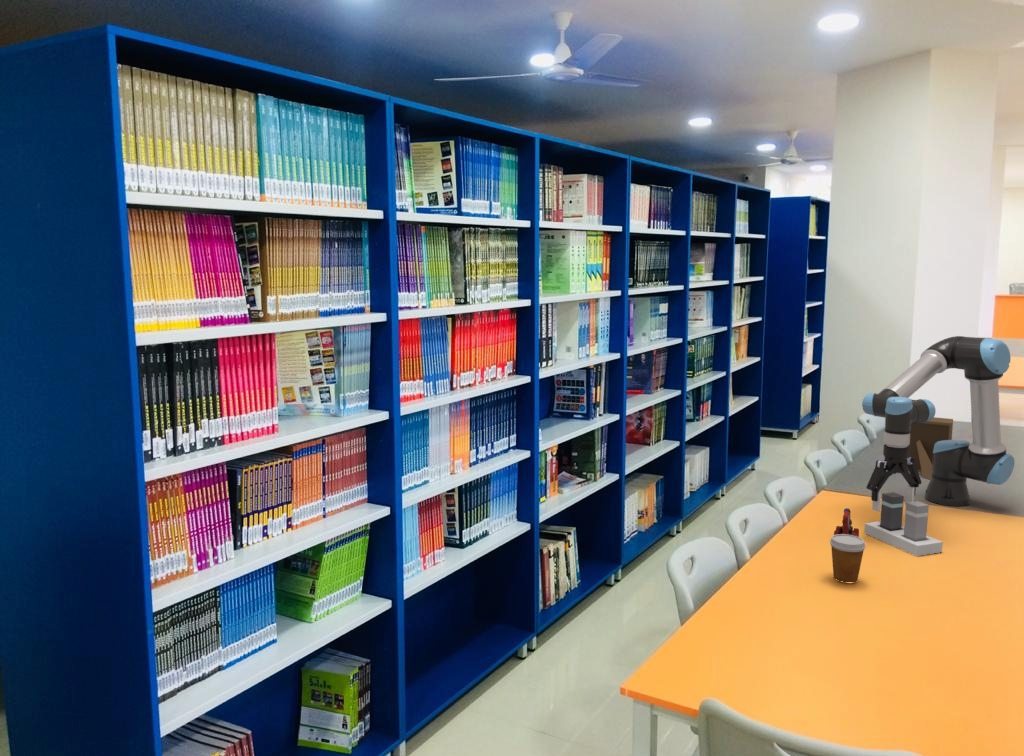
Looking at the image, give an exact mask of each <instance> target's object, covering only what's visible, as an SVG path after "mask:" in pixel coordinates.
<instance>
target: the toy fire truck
mask: <svg viewBox="0 0 1024 756" xmlns="http://www.w3.org/2000/svg"><path fill="white" fill-rule="evenodd" d="M841 521H842V522H841V523H842V525H841V526H840V525H837V526H835V530H834V532H833V536H834V535H837V534H847V535H853V536H857V537H859V535H860V529H859V528H856V527H853V526H852V524H853V521H852V519H851V509H850V508H844V510H843V516H842V520H841Z"/></svg>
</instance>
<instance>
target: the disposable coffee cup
mask: <svg viewBox="0 0 1024 756" xmlns="http://www.w3.org/2000/svg"><path fill="white" fill-rule="evenodd" d="M829 544H830V546H831V560H832V571H833V575H832V576H833V579H834V578H835V579H837V580H839V581H843V582H856V581H857V582H858V579H859V576H860V575H859V574H860V570H861V564H862V561H863V556H864V551H865V549H866V548H867V547H866V546H867V544H866V542H865V540H864V539H863V538H862V537H857V536H853V535H847V534H837V535H834V534H833V535H832V536H831V539H830V540H829ZM835 579H834V580H835ZM837 580H836V581H837ZM839 581H838V582H839ZM857 582H856V583H857Z"/></svg>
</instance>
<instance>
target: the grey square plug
mask: <svg viewBox="0 0 1024 756" xmlns="http://www.w3.org/2000/svg"><path fill="white" fill-rule="evenodd" d="M929 508H930V506H929V504H927V503H924V502H921V501H919V500H914V501H913V502H906V504H905V511H904V524H903V526H904V537H905V538H907V539H910V540H912V541H914V542H917V541H923V540H926V535H927V532H928V518H929ZM927 536H928V535H927Z"/></svg>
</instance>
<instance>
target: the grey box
mask: <svg viewBox="0 0 1024 756" xmlns="http://www.w3.org/2000/svg"><path fill="white" fill-rule="evenodd" d="M904 499H905V496H904V495H902V494H899V493H897V492H894V491H893V492H885V493H883V492H882V493H881V505H880V520H879V521H880V527H881V528H884V529H886V530H888V531H896V530H901V528H902V526H903V511H904V503H905V501H904Z"/></svg>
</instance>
